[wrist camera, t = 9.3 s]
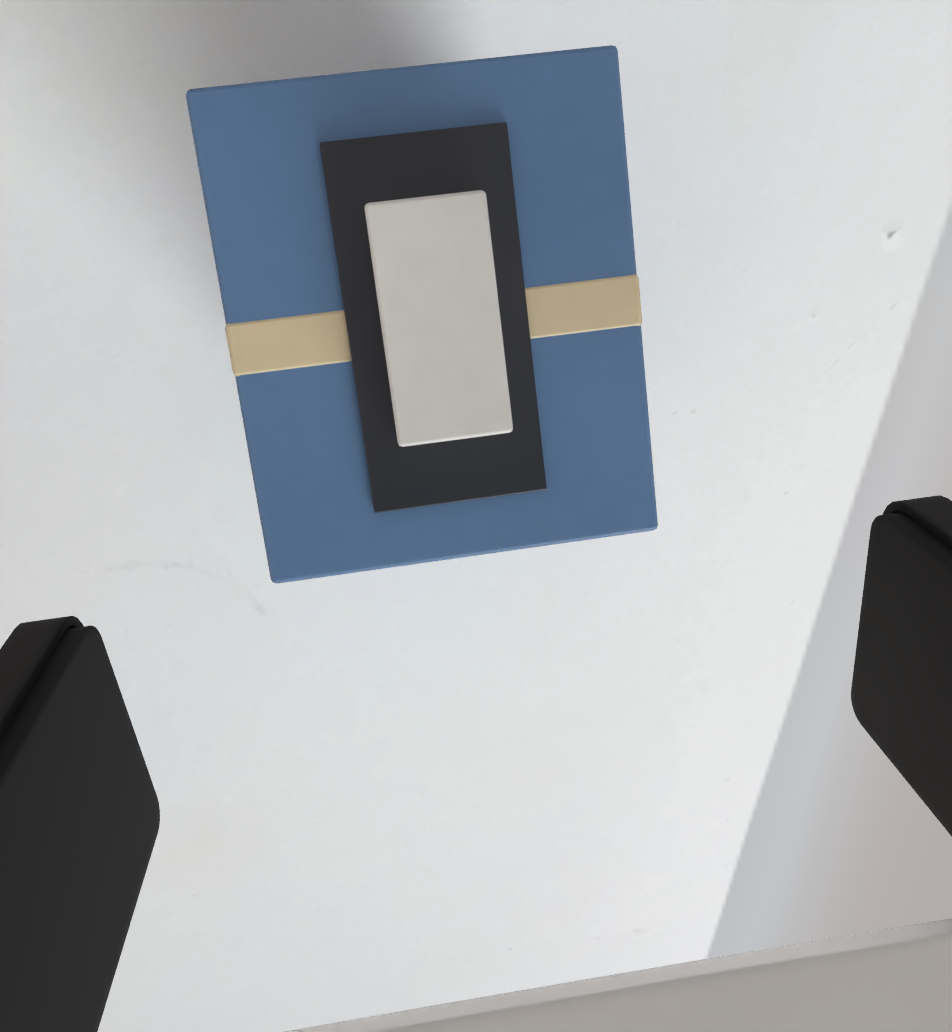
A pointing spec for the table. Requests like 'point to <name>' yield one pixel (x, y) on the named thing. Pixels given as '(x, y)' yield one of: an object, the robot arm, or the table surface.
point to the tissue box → (431, 307)
